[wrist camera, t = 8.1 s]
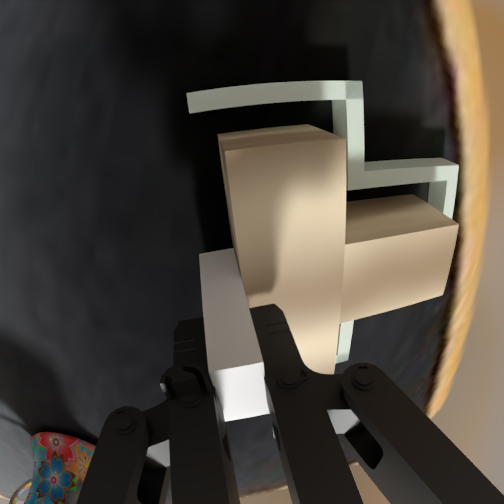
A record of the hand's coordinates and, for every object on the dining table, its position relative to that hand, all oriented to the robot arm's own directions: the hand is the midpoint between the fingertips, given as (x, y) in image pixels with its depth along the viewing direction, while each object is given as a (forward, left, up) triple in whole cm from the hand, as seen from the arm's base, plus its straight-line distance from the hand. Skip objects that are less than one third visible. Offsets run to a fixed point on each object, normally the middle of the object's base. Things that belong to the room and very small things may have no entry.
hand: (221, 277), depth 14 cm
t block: (0, +6, -2) cm, 6 cm away
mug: (+18, -19, -2) cm, 26 cm away
